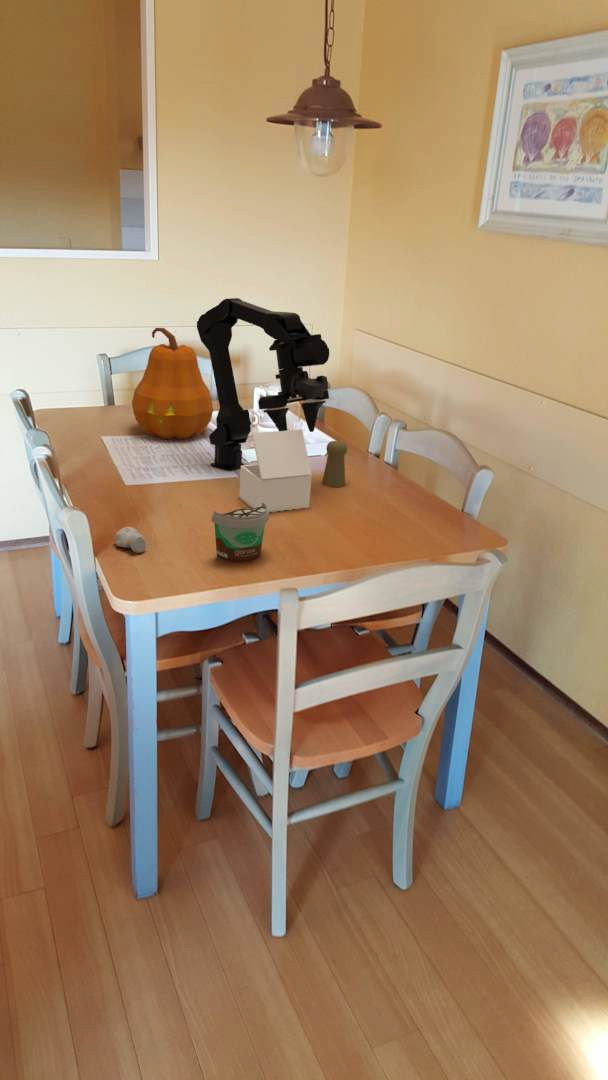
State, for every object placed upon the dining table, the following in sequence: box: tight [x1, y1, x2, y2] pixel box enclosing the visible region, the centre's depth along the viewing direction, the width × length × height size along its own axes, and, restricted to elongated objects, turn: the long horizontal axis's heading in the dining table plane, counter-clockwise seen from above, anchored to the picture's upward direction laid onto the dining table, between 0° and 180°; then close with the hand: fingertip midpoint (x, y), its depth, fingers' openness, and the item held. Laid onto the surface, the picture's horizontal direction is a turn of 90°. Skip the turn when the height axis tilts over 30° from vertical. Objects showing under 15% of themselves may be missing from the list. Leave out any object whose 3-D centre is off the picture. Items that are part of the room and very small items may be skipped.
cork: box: [321, 440, 348, 488], centre depth 206 cm, size 6×6×11 cm
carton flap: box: [251, 429, 312, 480], centre depth 185 cm, size 11×13×1 cm
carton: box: [238, 463, 312, 514], centre depth 191 cm, size 11×13×8 cm
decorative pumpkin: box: [131, 327, 214, 440], centre depth 234 cm, size 24×24×30 cm
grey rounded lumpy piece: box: [115, 526, 147, 554], centre depth 163 cm, size 4×8×5 cm
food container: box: [210, 502, 270, 564], centre depth 161 cm, size 12×6×10 cm, turn 126°
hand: (298, 434), depth 195 cm, fingers open, 9 cm apart
